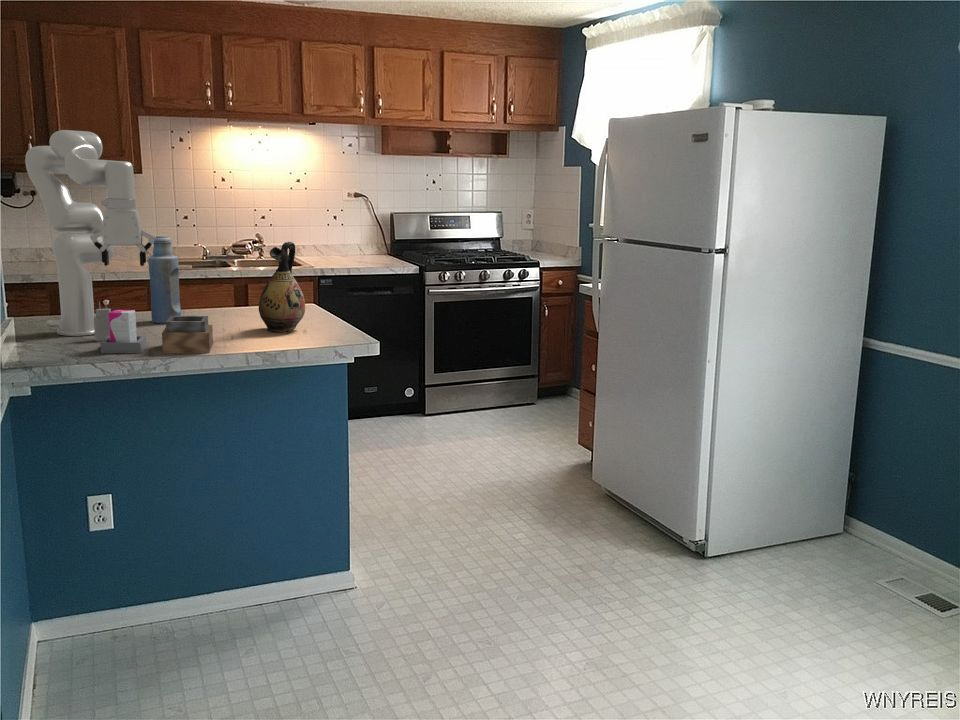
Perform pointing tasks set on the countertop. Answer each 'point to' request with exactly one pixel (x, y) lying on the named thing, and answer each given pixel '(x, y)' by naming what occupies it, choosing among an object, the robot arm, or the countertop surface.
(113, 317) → the supplement box
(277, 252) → the ceramic jug
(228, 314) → the countertop surface
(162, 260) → the bottle
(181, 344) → the raised dock
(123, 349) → the low collar
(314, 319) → the countertop surface
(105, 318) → the power adapter
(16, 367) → the countertop surface
